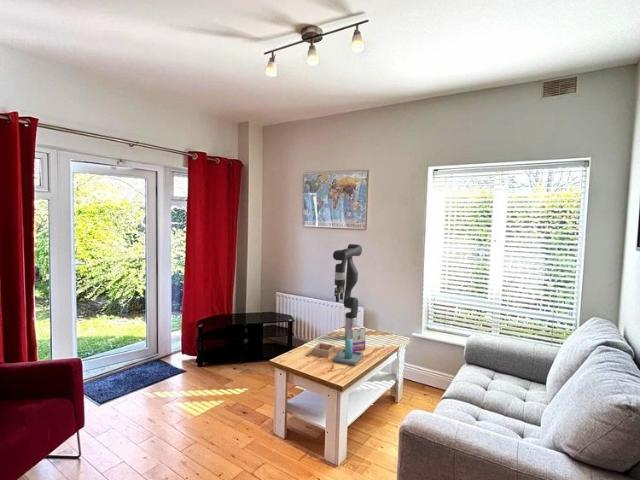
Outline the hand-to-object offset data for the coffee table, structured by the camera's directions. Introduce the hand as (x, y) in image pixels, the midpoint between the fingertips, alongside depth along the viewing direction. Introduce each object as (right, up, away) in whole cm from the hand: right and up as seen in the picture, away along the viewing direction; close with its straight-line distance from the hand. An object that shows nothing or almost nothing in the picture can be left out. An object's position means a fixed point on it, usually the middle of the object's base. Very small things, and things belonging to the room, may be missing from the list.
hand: (339, 300), depth 245 cm
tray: (+5, -37, -14) cm, 40 cm away
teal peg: (+5, -36, -14) cm, 39 cm away
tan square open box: (-11, -36, -4) cm, 38 cm away
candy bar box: (+13, -37, +3) cm, 39 cm away
